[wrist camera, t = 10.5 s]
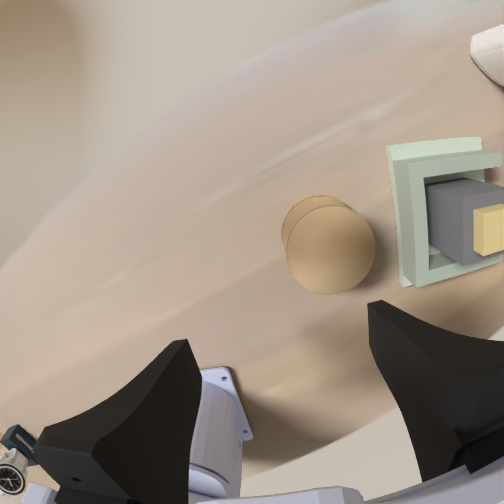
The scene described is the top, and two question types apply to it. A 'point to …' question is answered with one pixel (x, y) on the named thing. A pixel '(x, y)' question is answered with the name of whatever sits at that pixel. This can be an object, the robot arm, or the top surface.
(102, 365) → the top surface
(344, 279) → the spool
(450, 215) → the plug
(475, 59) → the eye dropper bottle
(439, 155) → the notched board
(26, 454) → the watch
